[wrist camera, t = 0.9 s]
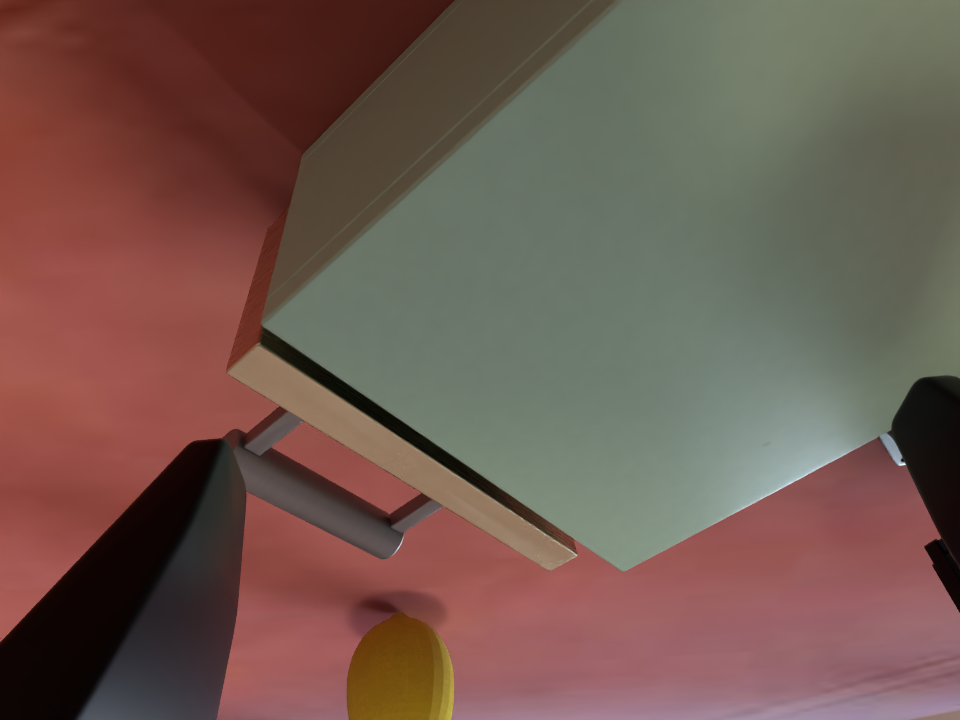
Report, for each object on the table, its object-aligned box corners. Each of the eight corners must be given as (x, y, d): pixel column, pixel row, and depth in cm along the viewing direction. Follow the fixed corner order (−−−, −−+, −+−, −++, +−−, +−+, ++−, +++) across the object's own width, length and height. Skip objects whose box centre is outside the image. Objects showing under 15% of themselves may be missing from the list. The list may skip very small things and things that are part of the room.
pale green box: (562, 389, 26) (622, 573, 20) (301, 154, 19) (257, 324, 12) (910, 153, 21) (1148, 296, 15) (740, -291, 14) (1064, -406, 7)
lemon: (331, 626, 36) (321, 788, 30) (382, 577, 33) (383, 743, 27) (413, 645, 38) (420, 798, 32) (467, 600, 36) (484, 757, 30)
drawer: (421, 488, 28) (430, 638, 23) (163, 329, 21) (92, 490, 16) (826, 216, 21) (969, 338, 16) (640, -139, 15) (782, -124, 9)
